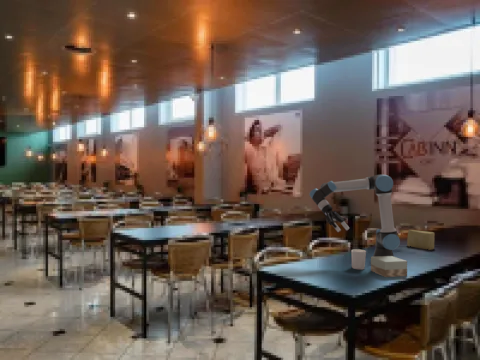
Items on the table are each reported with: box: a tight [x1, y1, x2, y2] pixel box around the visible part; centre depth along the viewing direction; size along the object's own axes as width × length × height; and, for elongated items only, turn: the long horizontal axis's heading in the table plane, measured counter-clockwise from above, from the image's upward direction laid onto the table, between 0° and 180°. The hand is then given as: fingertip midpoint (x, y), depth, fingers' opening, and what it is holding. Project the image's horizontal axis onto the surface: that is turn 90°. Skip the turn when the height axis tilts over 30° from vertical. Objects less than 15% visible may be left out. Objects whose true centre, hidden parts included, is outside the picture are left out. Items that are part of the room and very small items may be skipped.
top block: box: [370, 256, 408, 270], centre depth 269 cm, size 16×16×5 cm
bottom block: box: [370, 263, 408, 278], centre depth 269 cm, size 16×16×5 cm
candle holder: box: [350, 248, 367, 270], centre depth 283 cm, size 10×10×12 cm
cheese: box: [406, 229, 436, 251], centre depth 368 cm, size 22×10×15 cm, turn 43°
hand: (343, 230), depth 289 cm, fingers open, 13 cm apart
